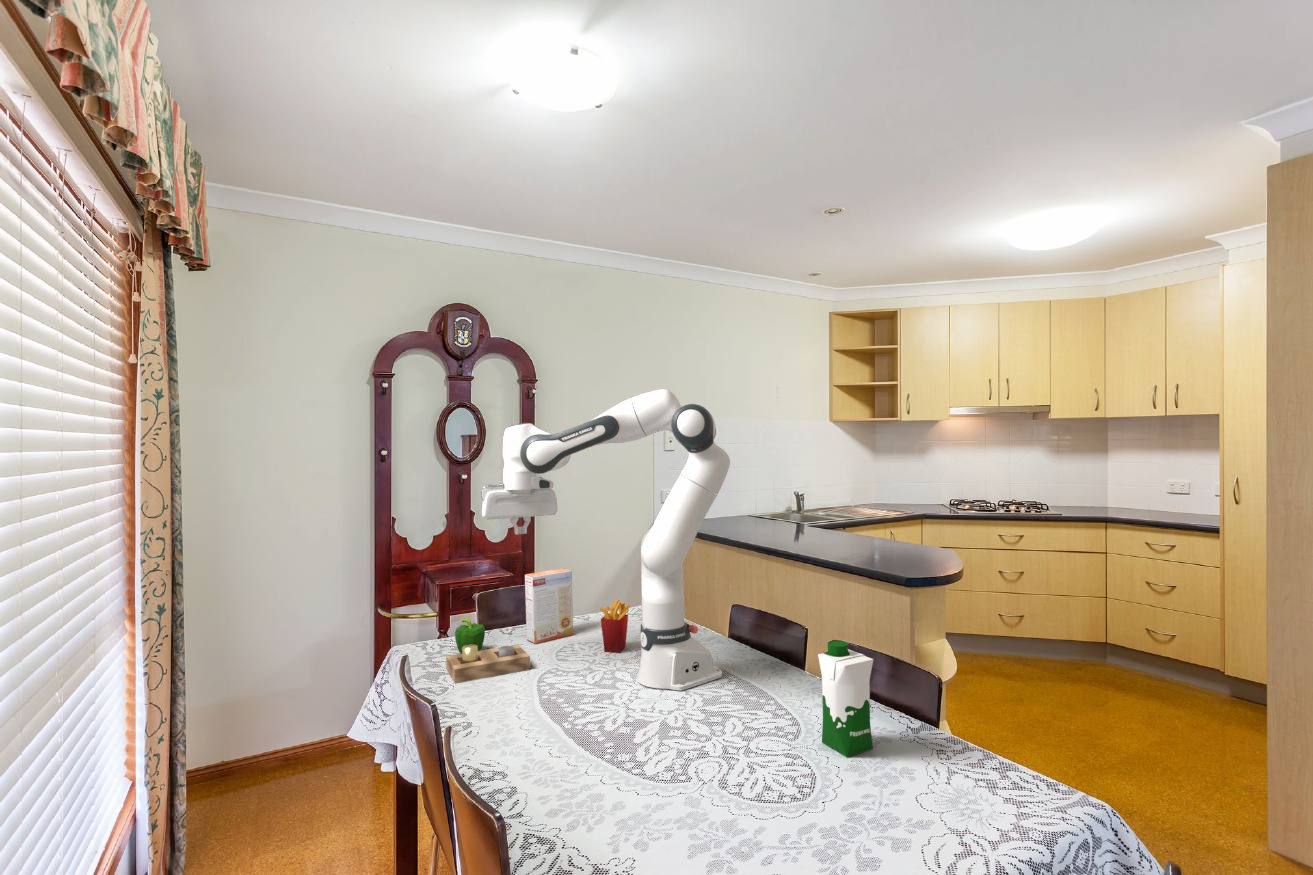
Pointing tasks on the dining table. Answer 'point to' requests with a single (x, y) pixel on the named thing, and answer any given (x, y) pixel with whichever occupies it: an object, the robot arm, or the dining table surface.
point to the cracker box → (548, 605)
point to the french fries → (615, 627)
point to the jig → (488, 663)
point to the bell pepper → (469, 635)
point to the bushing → (469, 654)
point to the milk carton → (846, 699)
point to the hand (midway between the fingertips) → (520, 533)
